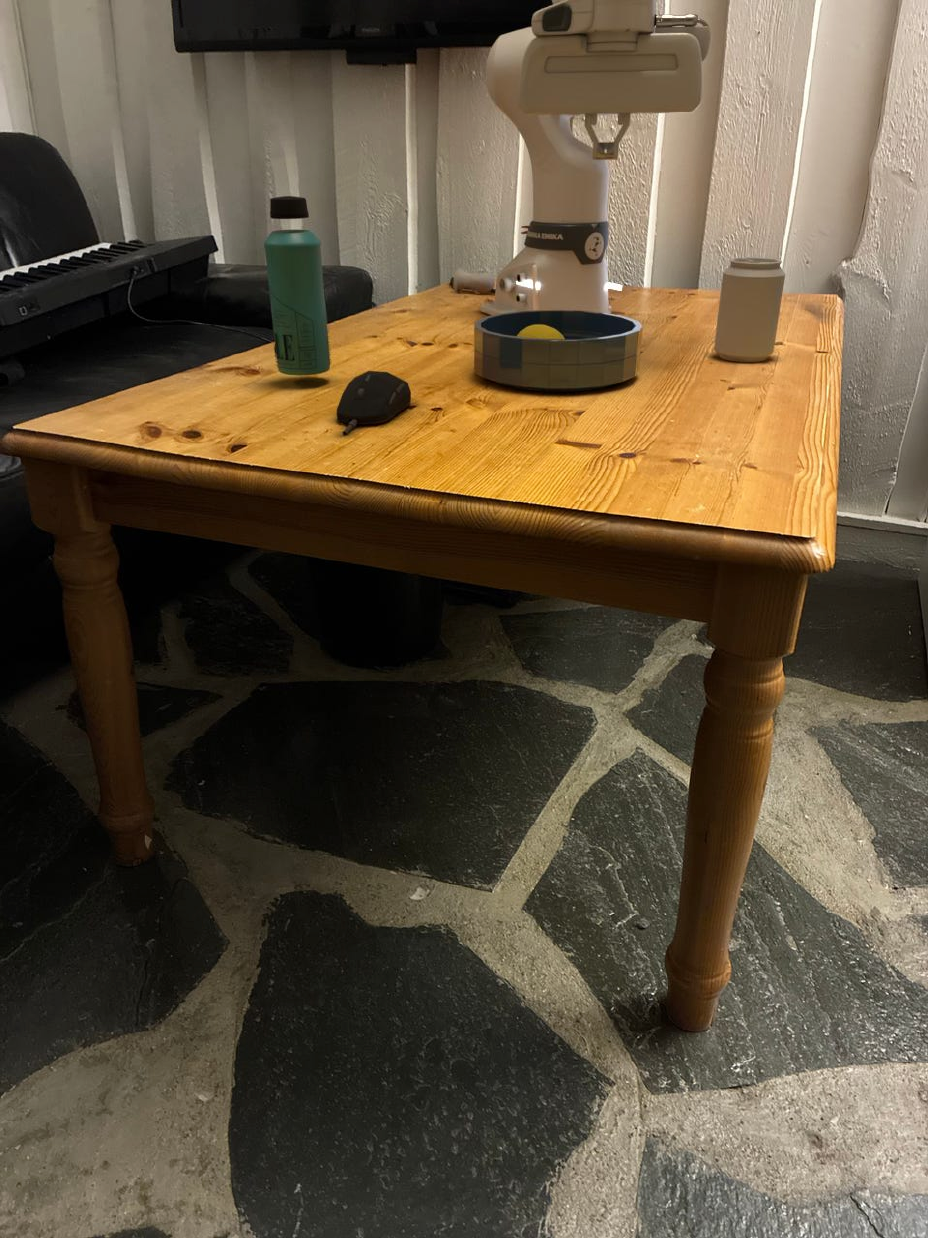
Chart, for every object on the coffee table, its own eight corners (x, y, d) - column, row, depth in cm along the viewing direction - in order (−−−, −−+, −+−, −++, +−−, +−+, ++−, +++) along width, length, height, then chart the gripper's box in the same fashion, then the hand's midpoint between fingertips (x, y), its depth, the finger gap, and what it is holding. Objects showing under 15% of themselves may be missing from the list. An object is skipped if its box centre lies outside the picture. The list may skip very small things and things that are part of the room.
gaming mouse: (314, 433, 89) (310, 392, 87) (365, 395, 101) (362, 359, 99) (375, 437, 87) (372, 395, 85) (419, 398, 100) (417, 362, 98)
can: (775, 364, 114) (791, 262, 108) (714, 362, 115) (726, 261, 110) (770, 352, 120) (784, 255, 115) (712, 350, 122) (723, 254, 116)
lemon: (492, 351, 107) (536, 363, 101) (516, 310, 107) (561, 320, 101) (520, 376, 111) (563, 389, 105) (543, 336, 110) (588, 347, 105)
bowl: (442, 371, 112) (441, 321, 109) (563, 351, 122) (565, 304, 119) (545, 404, 97) (547, 347, 95) (672, 378, 107) (677, 326, 105)
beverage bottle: (342, 377, 109) (329, 194, 99) (316, 391, 103) (300, 198, 94) (294, 374, 111) (277, 193, 101) (266, 386, 105) (245, 197, 96)
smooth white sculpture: (498, 299, 168) (486, 293, 164) (460, 295, 171) (447, 289, 167) (502, 274, 167) (490, 268, 163) (464, 271, 170) (451, 265, 166)
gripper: (710, 16, 99) (696, 158, 105) (524, 21, 102) (521, 159, 108) (714, 9, 93) (699, 159, 100) (517, 14, 96) (515, 160, 103)
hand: (605, 159), depth 104 cm, fingers closed
